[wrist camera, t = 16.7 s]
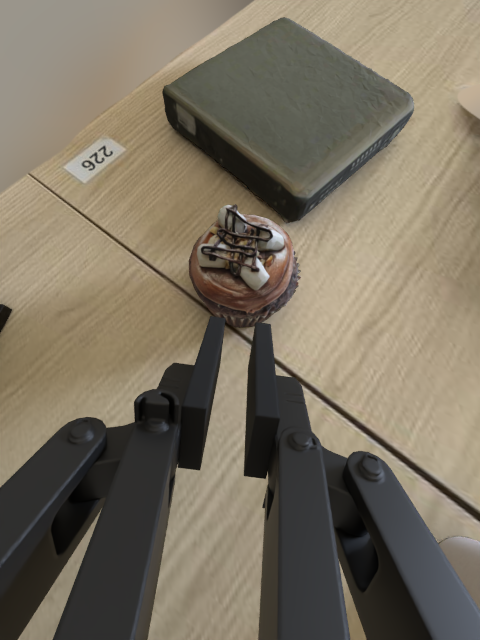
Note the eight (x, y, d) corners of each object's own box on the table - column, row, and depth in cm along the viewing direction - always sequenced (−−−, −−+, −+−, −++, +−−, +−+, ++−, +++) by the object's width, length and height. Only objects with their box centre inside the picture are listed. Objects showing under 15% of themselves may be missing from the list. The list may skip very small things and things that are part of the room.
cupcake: (279, 347, 29) (306, 308, 20) (181, 321, 30) (162, 272, 20) (297, 262, 32) (327, 194, 23) (209, 240, 33) (204, 165, 23)
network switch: (264, 47, 44) (269, 1, 39) (408, 126, 40) (432, 86, 36) (152, 139, 37) (142, 97, 32) (314, 244, 33) (330, 214, 29)
